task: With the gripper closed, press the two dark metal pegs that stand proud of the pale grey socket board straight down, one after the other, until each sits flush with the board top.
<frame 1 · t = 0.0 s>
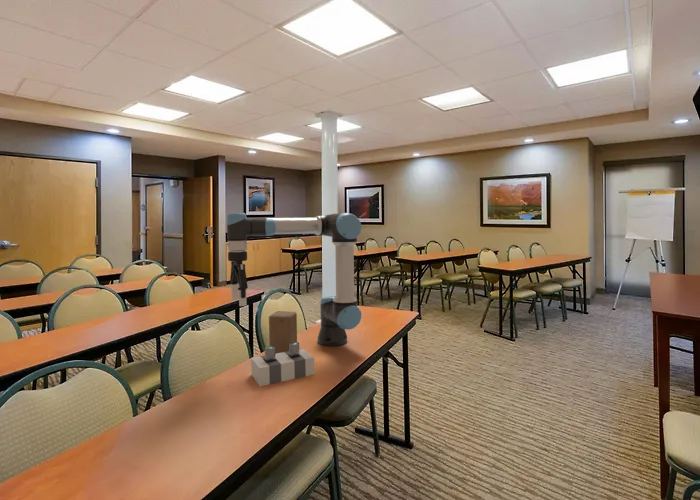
hand: (239, 302, 158), 28 cm above the table, fingers open, 13 cm apart
wooden block: (283, 357, 174), on the table
peg b: (270, 356, 151), point 9 cm above the table, slide at 5.0 cm
socket board: (282, 374, 154), on the table
peg a: (294, 351, 155), point 9 cm above the table, slide at 5.0 cm
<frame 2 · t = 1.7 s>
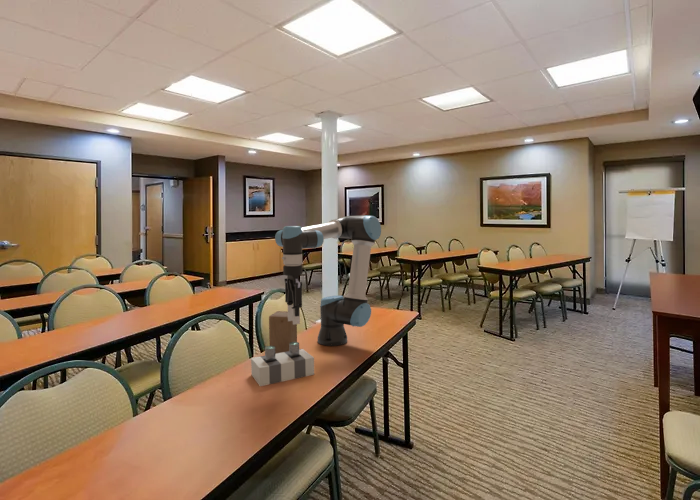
hand: (293, 322, 154), 21 cm above the table, fingers open, 5 cm apart
nothing on the table moved.
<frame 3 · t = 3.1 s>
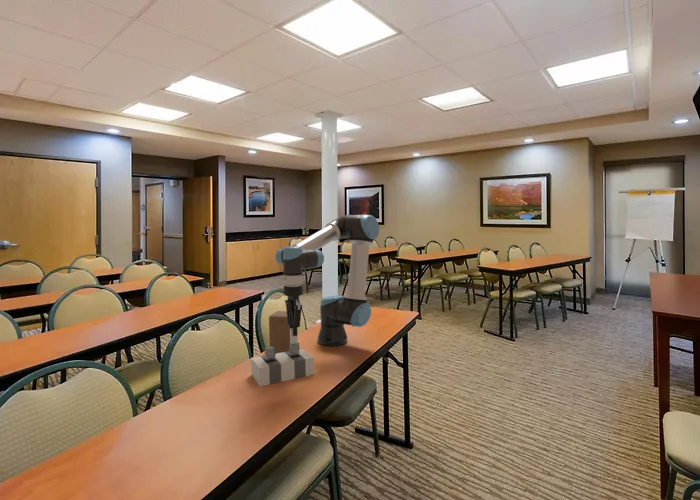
hand: (293, 343, 155), 12 cm above the table, fingers closed
peg a: (294, 352, 155), point 8 cm above the table, slide at 4.9 cm, touching gripper
everything else where it was.
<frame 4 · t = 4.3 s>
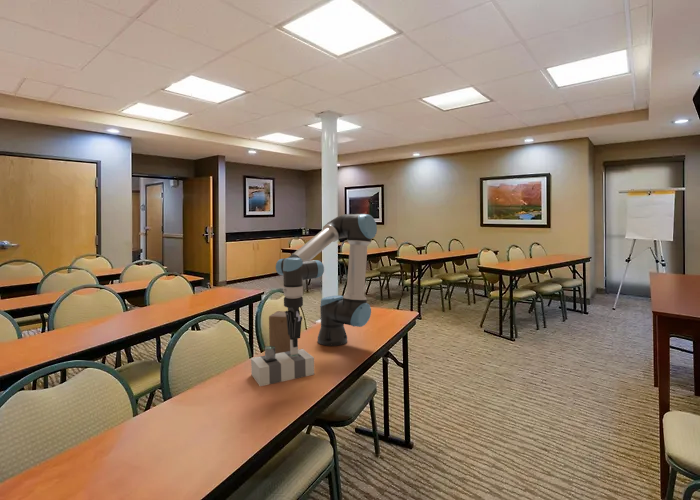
hand: (294, 354, 155), 8 cm above the table, fingers closed
peg a: (294, 363, 156), point 4 cm above the table, slide at 0.4 cm, touching gripper
everything else where it was.
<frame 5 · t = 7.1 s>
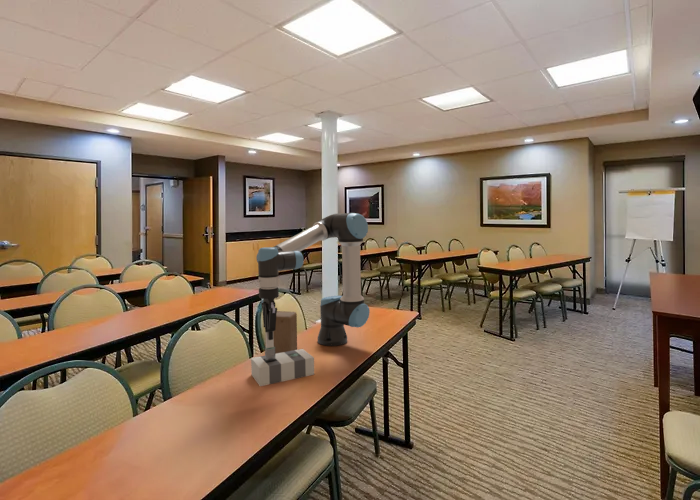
hand: (269, 347, 150), 12 cm above the table, fingers closed
peg b: (270, 356, 151), point 8 cm above the table, slide at 4.9 cm, touching gripper
peg a: (294, 363, 156), point 4 cm above the table, slide at 0.4 cm
everything else where it was.
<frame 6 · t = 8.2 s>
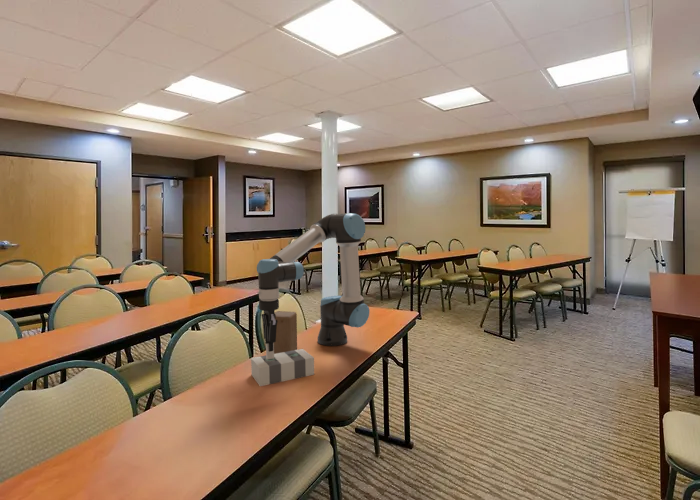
hand: (270, 358, 151), 8 cm above the table, fingers closed
peg b: (270, 367, 151), point 4 cm above the table, slide at 0.4 cm, touching gripper
everything else where it was.
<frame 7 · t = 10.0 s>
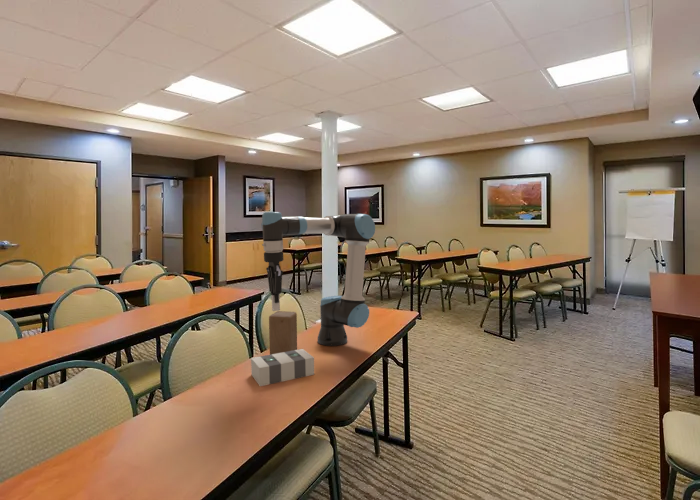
hand: (276, 310, 153), 26 cm above the table, fingers closed
peg b: (270, 367, 151), point 4 cm above the table, slide at 0.4 cm
everything else where it was.
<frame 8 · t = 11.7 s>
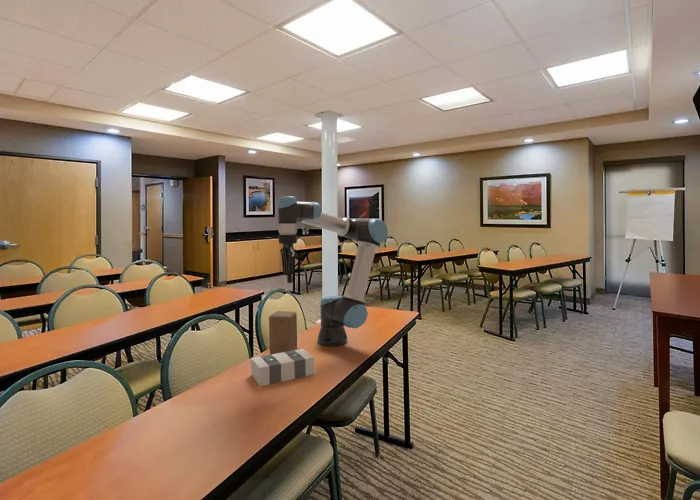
hand: (288, 290, 161), 32 cm above the table, fingers closed
nothing on the table moved.
at the end: peg a slide at 0.4 cm; peg b slide at 0.4 cm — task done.
